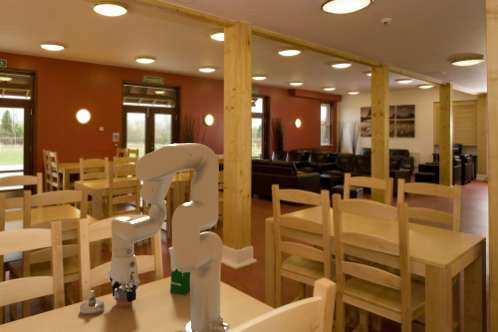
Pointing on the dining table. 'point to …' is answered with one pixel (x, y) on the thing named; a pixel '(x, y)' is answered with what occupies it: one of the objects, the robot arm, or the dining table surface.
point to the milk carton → (179, 278)
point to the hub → (92, 306)
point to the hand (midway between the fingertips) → (124, 297)
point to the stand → (123, 303)
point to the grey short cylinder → (121, 294)
